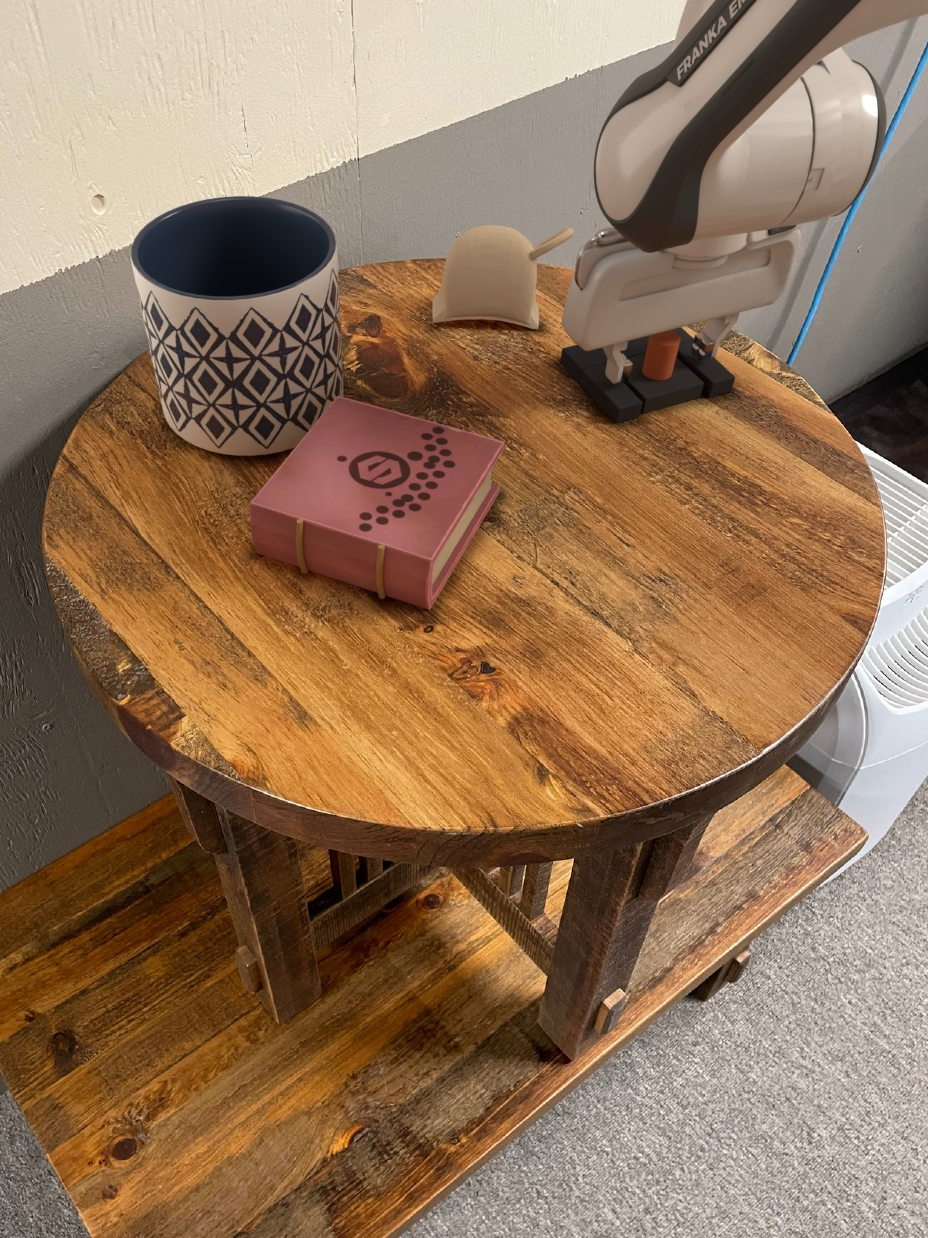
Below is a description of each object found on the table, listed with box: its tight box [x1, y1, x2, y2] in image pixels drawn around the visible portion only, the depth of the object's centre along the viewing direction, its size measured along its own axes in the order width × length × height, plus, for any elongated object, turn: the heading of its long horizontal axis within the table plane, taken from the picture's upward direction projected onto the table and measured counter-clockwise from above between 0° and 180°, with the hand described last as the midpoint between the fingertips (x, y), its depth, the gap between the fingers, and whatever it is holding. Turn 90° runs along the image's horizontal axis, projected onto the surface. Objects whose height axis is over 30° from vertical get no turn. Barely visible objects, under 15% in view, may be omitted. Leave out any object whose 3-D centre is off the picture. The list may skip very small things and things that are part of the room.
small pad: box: [623, 330, 704, 414], centre depth 88 cm, size 6×6×5 cm
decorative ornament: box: [431, 224, 575, 330], centre depth 94 cm, size 6×12×8 cm, turn 84°
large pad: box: [559, 327, 736, 424], centre depth 90 cm, size 12×10×2 cm
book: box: [249, 396, 506, 611], centre depth 76 cm, size 14×15×5 cm
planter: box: [130, 195, 344, 457], centre depth 82 cm, size 16×16×14 cm
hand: (660, 366), depth 88 cm, fingers open, 7 cm apart
